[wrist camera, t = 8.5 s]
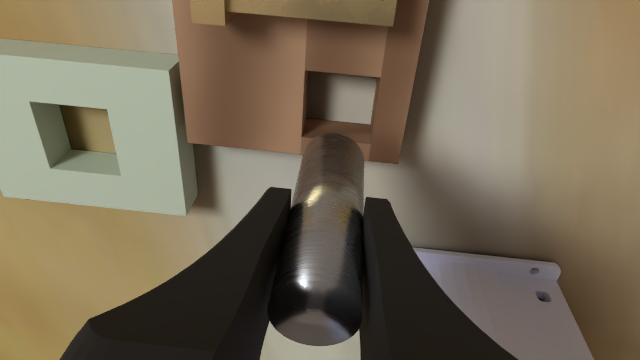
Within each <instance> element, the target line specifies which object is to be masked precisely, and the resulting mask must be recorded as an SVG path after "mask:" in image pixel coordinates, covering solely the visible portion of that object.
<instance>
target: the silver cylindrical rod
mask: <svg viewBox="0 0 640 360" xmlns="http://www.w3.org/2000/svg"><path fill="white" fill-rule="evenodd" d="M363 208H364V156H363V152H362V150H361V148H360V147H359V145H358V144H357V143H356V142H355V141H354V140H352V139H351V138H349V137H347V136H345V135H342V134H337V133H328V134H323V135H320V136H318V137H316V138H314V139H313V140H312V141H311V142H310V143H309V144H308V145H307V146H306V148H305V150H304V153H303V158H302V162H301V166H300V170H299V175H298V179H297V183H296V187H295V192H294V196H293V200H292V205H291V210H290V214H289V218H288V222H287V227H286V231H285V235H284V239H283V243H282V247H281V251H280V256H279V260H278V264H277V269H276V273H275V277H274V281H273V286H272V290H271V294H270V298H269V303H268V308H267V312H268V317H269V320H270V322H271V324H272V325H273V327H274V328H275V329H276V330H277V331H278V332H279V333H281V334H282V335H283V336H285V337H287V338H289V339H291V340H293V341H295V342H298V343H301V344H305V345H312V346H328V345H334V344H338V343H341V342H343V341H345V340H347V339H349V338H350V337H352V336H353V335H354V334H355V333H356V332H357V331H358V329H359V328H360V326H361V322H362V295H363Z"/></svg>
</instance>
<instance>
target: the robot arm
mask: <svg viewBox="0 0 640 360" xmlns="http://www.w3.org/2000/svg"><path fill="white" fill-rule="evenodd" d="M290 210H291V189H285V188H275V187H270V188H269V189H268V190H267V191H266V192H265V193H264V195H263V196H262V197H261V198H260V200H259V201H258V202H257V203H256V205H255V206H254V207H253V208H252V209H251V210H250V211H249V213H248V214H247V215H246V216H245V217H244V218H243V219H242V220H241V221H240V222H239V223H238V224H237V225H236V226H235V227H234V228H233V229H232V230H231V231H230V232H229V233H228V234H227V235H226V236H225V237H224V238H223V239H222V240H221V241H220V242H219V243H218V244H216V245H215V246H214V247H213V248H212V249H211V250H209V251H208V252H207V253H206V254H205V255H203V256H202V257H201V258H199V259H198V260H197V261H196V262H194V263H193V264H192V265H190V266H189V267H187V268H186V269H184V270H183V271H181V272H180V273H179V274H177V275H176V276H174V277H172V278H171V279H169V280H168V281H166V282H165V283H163V284H161V285H159V286H158V287H156V288H154V289H152V290H151V291H149V292H147V293H145V294H143V295H141V296H139V297H137V298H135V299H133V300H131V301H129V302H127V303H125V304H123V305H121V306H118V307H116V308H114V309H111V310H109V311H107V312H105V313H102V314H100V315H98V316H95V317H93V318H90V319H89V320H88V321H87V322H86V324H85V325H84V326H83V327H82V329H81V330H80V331H79V332H78V333H77V335H76V336H75V337H74V339H73V340H72V342H71V343H70V344H69V346H68V347H67V349H66V351H65V352H64V354H63V355H62V357H61V358H60V360H260V355H261V350H262V346H263V342H264V338H265V334H266V331H267V327H268V324H269V321H270V320H269V317H268V312H267V308H268V303H269V298H270V294H271V290H272V286H273V281H274V277H275V273H276V269H277V264H278V260H279V256H280V251H281V247H282V243H283V239H284V235H285V231H286V227H287V222H288V218H289V214H290ZM533 268H536V269H533ZM531 269H533V270H531ZM560 274H561V269H560V267H559V265H558V264H556V263H553V262H543V261H534V260H525V259H515V258H506V257H497V256H488V255H478V254H469V253H460V252H450V251H441V250H432V249H423V248H413V247H412V246H411V244H410V242H409V241H408V239H407V237H406V235H405V234H404V232H403V230H402V228H401V226H400V224H399V222H398V220H397V218H396V216H395V214H394V211H393V209H392V207H391V204H390V202H389V201H388V200H387V199H380V198H370V197H366V201H365V207H364V214H363V295H362V322H361V326H360V328H359V331H360V347H361V360H594V359H593V357H592V354H591V352H590V350H589V348H588V346H587V344H586V342H585V340H584V338H583V335H582V333H581V331H580V329H579V327H578V325H577V323H576V321H575V319H574V316H573V314H572V312H571V310H570V308H569V306H568V304H567V302H566V300H565V297H564V295H563V293H562V291H561V289H560V287H559V285H558V283H557V280H558V278H559V276H560Z"/></svg>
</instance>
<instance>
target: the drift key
mask: <svg viewBox="0 0 640 360" xmlns="http://www.w3.org/2000/svg"><path fill="white" fill-rule="evenodd" d="M396 4H397V0H190V7H191V19H192V23H199V24H210V25H221V26H226V25H227V24H228V23H229V21H230V20H231V19H232V18H233V17H234V16H235V15H236V14H237V13H238V12H239V13H250V14H261V15H272V16H283V17H294V18H305V19H316V20H326V21H337V22H348V23H359V24H370V25H381V26H392V27H393V23H394V17H395V10H396Z"/></svg>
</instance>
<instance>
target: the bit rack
mask: <svg viewBox="0 0 640 360" xmlns="http://www.w3.org/2000/svg"><path fill="white" fill-rule="evenodd" d="M59 104H60V105H70V106H80V107H90V108H100V109H107V111H108V116H109V121H110V126H111V130H112V135H113V140H114V145H115V149H116V154H112V153H102V152H92V151H83V150H73V149H71V147H70V143H69V139H68V136H67V132H66V128H65V125H64V121H63V117H62V114H61V110H60V106H59ZM0 189H1V192H2V194H3V196H4V197H13V198H23V199H32V200H41V201H51V202H60V203H69V204H79V205H88V206H97V207H107V208H116V209H125V210H135V211H144V212H153V213H163V214H172V215H181V216H187V214H188V212H189V210H190V208H191V207H192V205H193V203H194V201H195V199H196V197H197V195H198V189H197V179H196V169H195V159H194V149H193V143H188V141H187V132H186V123H185V114H184V104H183V95H182V86H181V77H180V67H179V58H178V55H169V54H159V53H148V52H138V51H127V50H117V49H106V48H96V47H85V46H75V45H64V44H53V43H43V42H32V41H22V40H11V39H1V38H0Z"/></svg>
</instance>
